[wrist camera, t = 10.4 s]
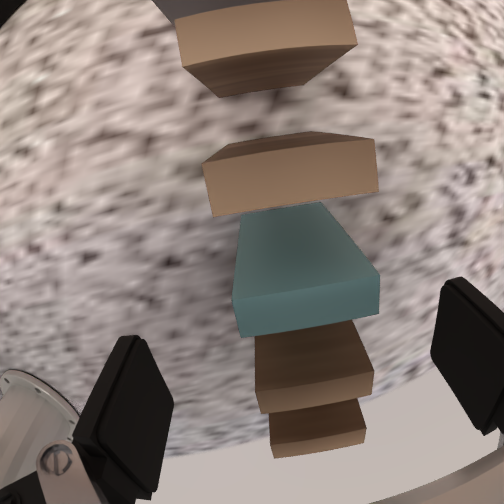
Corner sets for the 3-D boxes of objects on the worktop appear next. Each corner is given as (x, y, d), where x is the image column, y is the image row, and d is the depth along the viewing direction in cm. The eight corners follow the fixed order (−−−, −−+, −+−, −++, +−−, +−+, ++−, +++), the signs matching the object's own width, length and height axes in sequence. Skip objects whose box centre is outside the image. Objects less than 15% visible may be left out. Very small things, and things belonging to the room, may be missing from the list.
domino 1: (303, 85, 16) (357, 44, 7) (219, 97, 17) (182, 66, 7) (298, 60, 16) (346, -2, 6) (214, 73, 16) (174, 19, 7)
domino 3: (323, 226, 20) (378, 313, 10) (246, 238, 20) (240, 337, 11) (320, 202, 19) (380, 274, 10) (241, 214, 19) (231, 299, 10)
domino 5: (331, 337, 23) (363, 442, 14) (267, 347, 23) (274, 458, 14) (330, 320, 22) (366, 428, 13) (264, 331, 23) (270, 445, 14)
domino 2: (315, 157, 18) (378, 191, 9) (233, 170, 18) (213, 217, 9) (311, 131, 17) (373, 139, 8) (228, 144, 18) (201, 163, 8)
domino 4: (328, 287, 21) (371, 394, 12) (258, 299, 22) (261, 413, 12) (327, 267, 21) (374, 370, 12) (254, 279, 21) (255, 391, 12)
